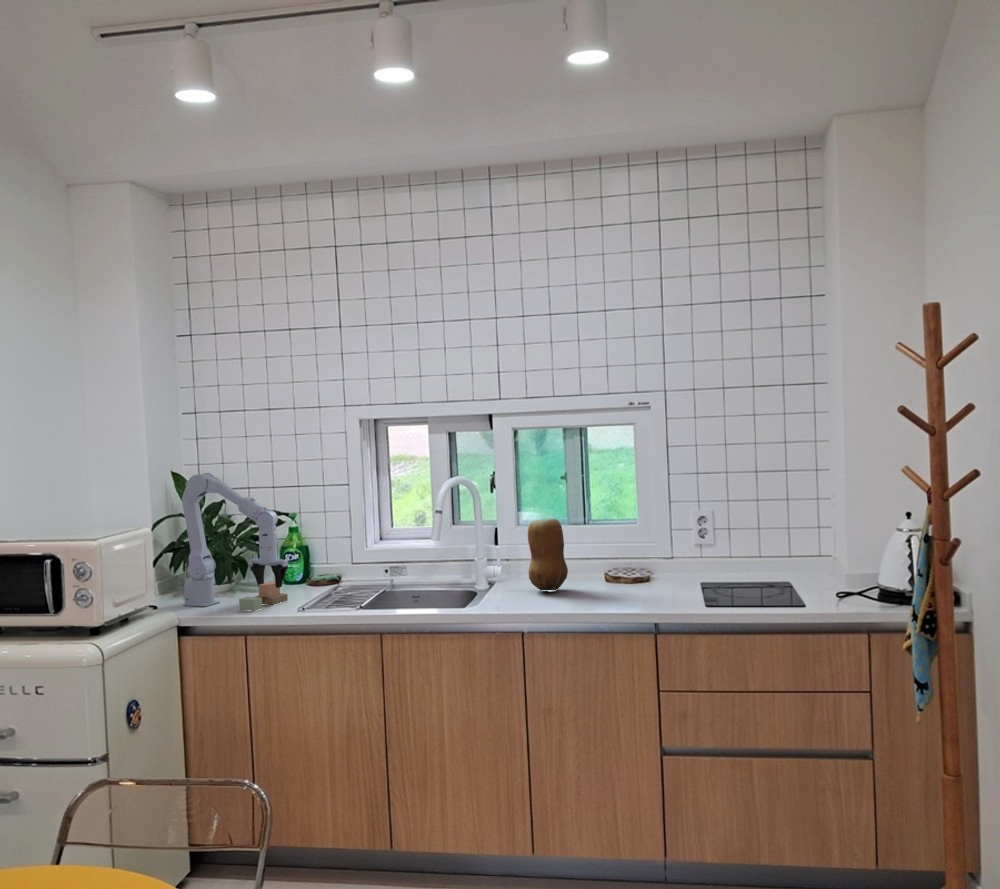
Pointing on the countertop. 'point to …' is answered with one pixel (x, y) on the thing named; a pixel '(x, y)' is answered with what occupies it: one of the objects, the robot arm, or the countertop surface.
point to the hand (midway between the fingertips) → (269, 586)
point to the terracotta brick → (268, 589)
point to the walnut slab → (274, 599)
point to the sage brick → (250, 603)
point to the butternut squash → (546, 554)
